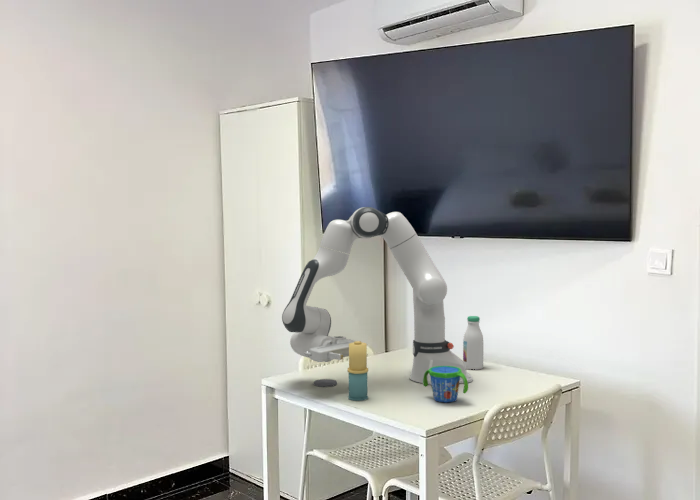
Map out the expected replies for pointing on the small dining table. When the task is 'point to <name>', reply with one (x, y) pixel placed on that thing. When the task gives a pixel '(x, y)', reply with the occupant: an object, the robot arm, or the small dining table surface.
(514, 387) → the small dining table surface
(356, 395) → the canister
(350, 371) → the tan cylinder
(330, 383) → the mat
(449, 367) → the snack cup
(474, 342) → the milk bottle
